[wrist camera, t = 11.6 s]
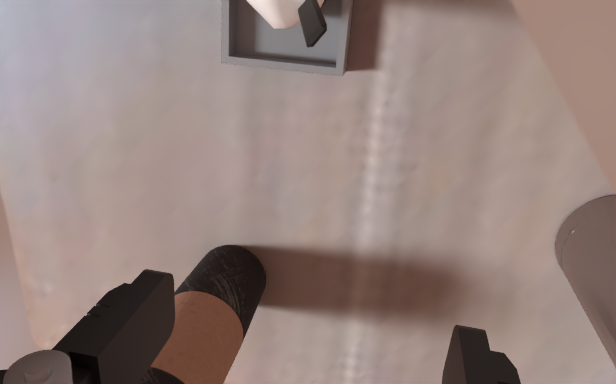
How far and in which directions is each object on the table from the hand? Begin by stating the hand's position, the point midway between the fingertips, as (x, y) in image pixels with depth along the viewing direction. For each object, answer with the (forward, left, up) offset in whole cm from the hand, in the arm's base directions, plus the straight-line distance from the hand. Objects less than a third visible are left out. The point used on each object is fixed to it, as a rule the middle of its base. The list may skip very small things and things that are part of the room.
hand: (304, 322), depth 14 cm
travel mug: (+12, +20, -30) cm, 38 cm away
